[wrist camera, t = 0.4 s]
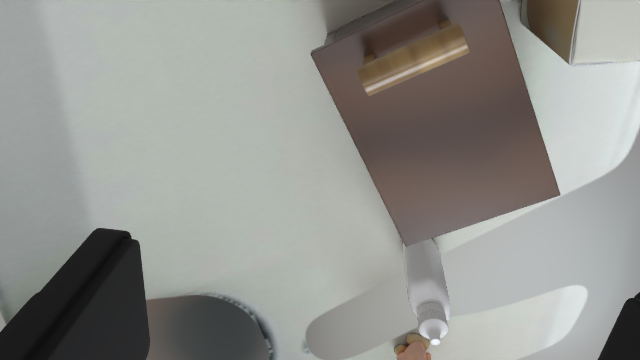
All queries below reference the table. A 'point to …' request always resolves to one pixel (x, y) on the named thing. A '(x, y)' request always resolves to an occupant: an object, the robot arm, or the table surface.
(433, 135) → the lid
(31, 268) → the table surface
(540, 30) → the cosmetic box
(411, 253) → the eye dropper bottle
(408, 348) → the grandmother figurine
